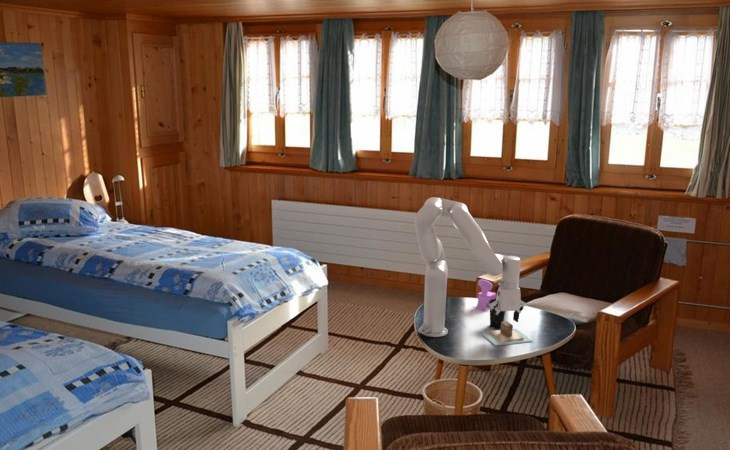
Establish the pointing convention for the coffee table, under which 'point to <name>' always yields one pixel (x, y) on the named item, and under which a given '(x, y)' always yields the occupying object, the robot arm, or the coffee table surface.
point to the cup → (501, 317)
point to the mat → (497, 343)
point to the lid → (506, 333)
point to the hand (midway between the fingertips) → (505, 321)
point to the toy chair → (485, 294)
